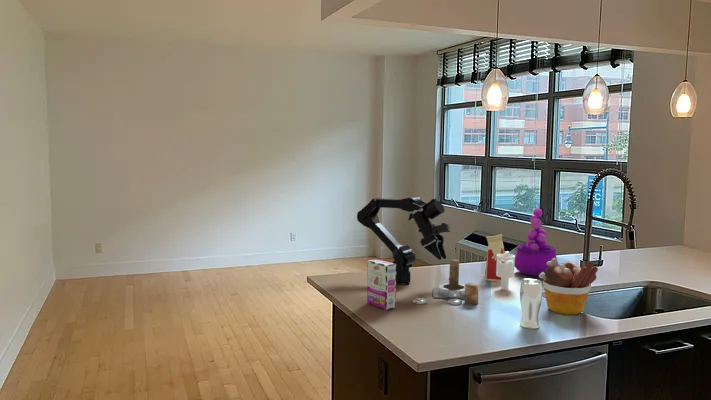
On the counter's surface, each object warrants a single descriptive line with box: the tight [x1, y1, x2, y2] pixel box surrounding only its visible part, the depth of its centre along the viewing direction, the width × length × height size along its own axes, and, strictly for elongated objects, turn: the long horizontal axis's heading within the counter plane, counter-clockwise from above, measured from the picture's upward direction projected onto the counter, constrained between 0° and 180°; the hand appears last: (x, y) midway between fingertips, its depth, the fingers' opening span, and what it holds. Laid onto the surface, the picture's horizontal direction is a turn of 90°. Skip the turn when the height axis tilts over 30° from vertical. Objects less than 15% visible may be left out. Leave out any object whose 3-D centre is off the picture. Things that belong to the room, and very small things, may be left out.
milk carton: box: [483, 233, 507, 283], centre depth 242 cm, size 9×9×20 cm
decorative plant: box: [514, 207, 559, 277], centre depth 249 cm, size 19×18×30 cm
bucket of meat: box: [538, 257, 599, 316], centre depth 198 cm, size 20×16×20 cm
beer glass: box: [519, 278, 543, 330], centre depth 183 cm, size 7×7×15 cm
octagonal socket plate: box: [432, 282, 465, 300], centre depth 219 cm, size 16×12×3 cm
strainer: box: [496, 250, 516, 291], centre depth 226 cm, size 7×7×15 cm
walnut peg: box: [448, 259, 460, 290], centre depth 218 cm, size 4×4×13 cm
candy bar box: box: [366, 258, 397, 311], centre depth 204 cm, size 11×5×16 cm, turn 37°
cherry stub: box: [464, 282, 480, 306], centre depth 208 cm, size 5×5×7 cm
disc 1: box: [412, 297, 428, 305], centre depth 209 cm, size 5×5×1 cm
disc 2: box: [447, 299, 463, 306], centre depth 208 cm, size 5×5×1 cm
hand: (443, 258), depth 223 cm, fingers open, 9 cm apart
